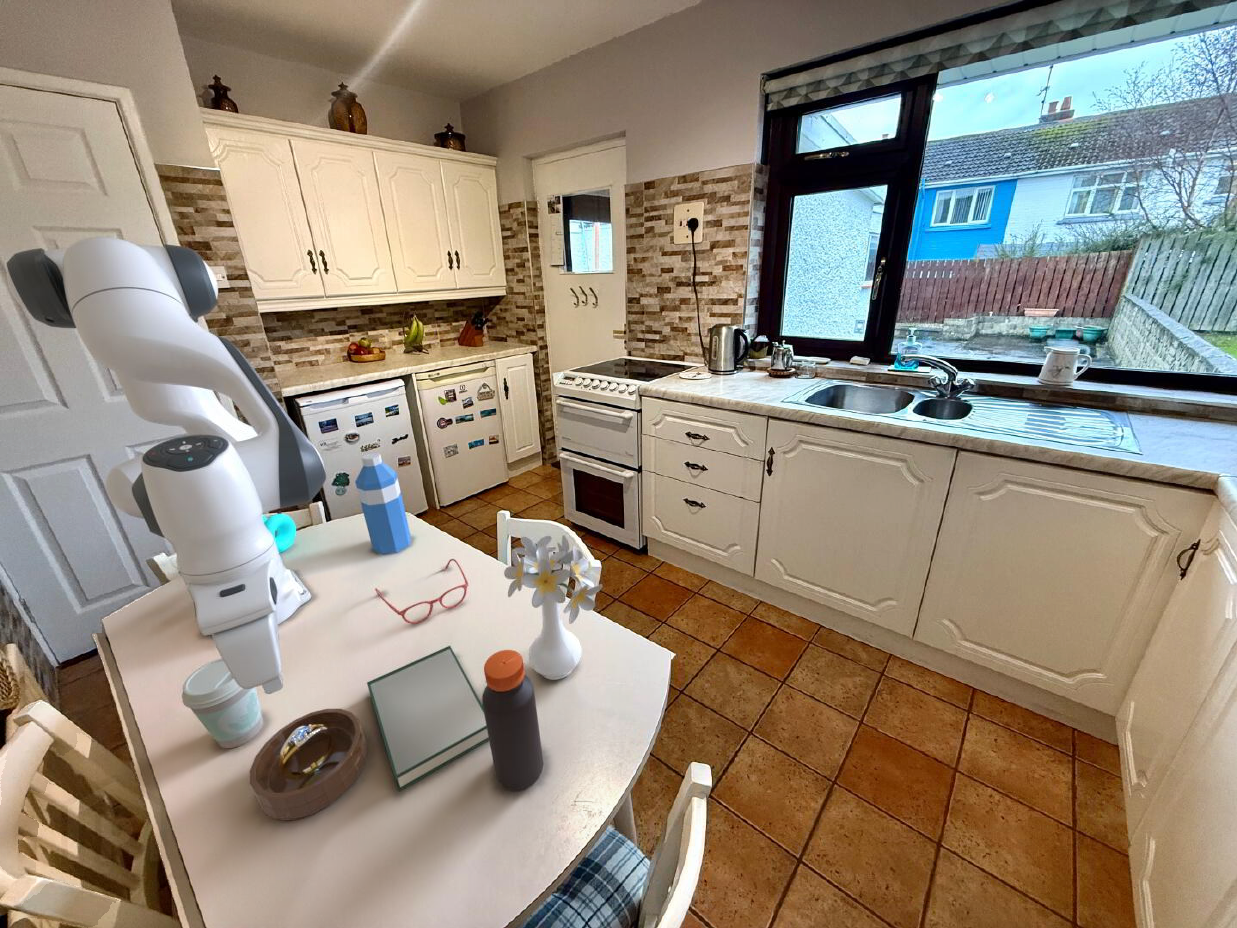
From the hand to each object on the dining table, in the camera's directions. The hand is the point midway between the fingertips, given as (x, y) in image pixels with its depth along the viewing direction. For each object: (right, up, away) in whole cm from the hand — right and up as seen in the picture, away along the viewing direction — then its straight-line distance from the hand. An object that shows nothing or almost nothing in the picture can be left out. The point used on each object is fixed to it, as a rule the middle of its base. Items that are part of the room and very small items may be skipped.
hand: (273, 663), depth 62 cm
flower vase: (+34, -11, +25) cm, 44 cm away
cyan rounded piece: (-46, +3, +64) cm, 79 cm away
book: (+13, -15, +17) cm, 26 cm away
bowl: (0, -19, +8) cm, 21 cm away
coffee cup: (-16, -17, +15) cm, 27 cm away
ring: (0, -19, +8) cm, 20 cm away
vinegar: (+30, -19, +8) cm, 36 cm away
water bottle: (-15, +4, +65) cm, 67 cm away
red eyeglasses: (+2, -4, +44) cm, 45 cm away
